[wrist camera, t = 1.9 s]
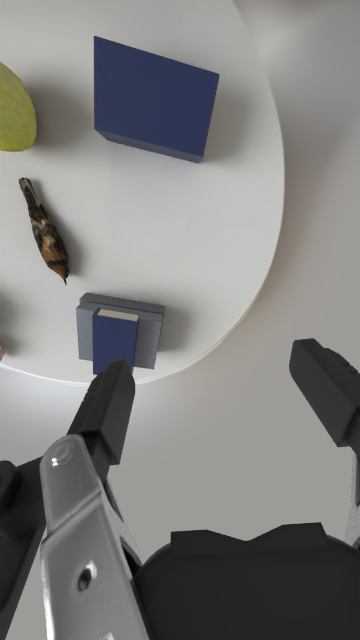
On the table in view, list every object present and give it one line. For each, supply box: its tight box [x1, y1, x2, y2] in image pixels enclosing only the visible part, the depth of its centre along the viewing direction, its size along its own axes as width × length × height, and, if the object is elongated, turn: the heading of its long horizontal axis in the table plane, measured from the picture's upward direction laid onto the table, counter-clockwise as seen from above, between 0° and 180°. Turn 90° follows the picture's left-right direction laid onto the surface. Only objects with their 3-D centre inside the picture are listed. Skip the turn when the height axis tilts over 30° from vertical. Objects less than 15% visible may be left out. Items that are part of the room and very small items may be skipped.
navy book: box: [92, 308, 140, 375], centre depth 31 cm, size 6×11×2 cm, turn 169°
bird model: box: [19, 178, 69, 285], centre depth 28 cm, size 3×14×3 cm, turn 5°
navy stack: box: [94, 36, 219, 163], centre depth 21 cm, size 6×11×4 cm, turn 79°
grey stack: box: [76, 293, 165, 369], centre depth 34 cm, size 13×10×5 cm
